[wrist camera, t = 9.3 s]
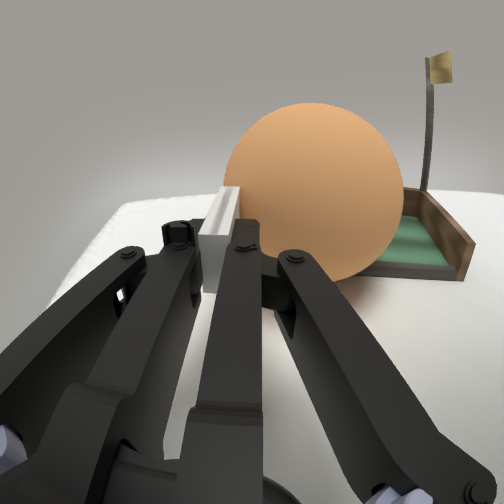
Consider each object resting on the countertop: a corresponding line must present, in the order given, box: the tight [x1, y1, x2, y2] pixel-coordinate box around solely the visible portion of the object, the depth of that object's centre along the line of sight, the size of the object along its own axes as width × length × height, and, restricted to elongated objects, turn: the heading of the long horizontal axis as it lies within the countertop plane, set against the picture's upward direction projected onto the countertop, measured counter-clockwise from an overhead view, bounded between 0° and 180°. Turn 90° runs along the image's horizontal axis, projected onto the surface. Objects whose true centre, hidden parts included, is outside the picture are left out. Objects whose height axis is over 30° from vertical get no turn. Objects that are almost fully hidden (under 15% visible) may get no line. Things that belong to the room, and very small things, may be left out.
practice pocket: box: [204, 52, 476, 281], centre depth 25 cm, size 16×25×22 cm, turn 77°
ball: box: [224, 103, 404, 282], centre depth 20 cm, size 13×13×13 cm
